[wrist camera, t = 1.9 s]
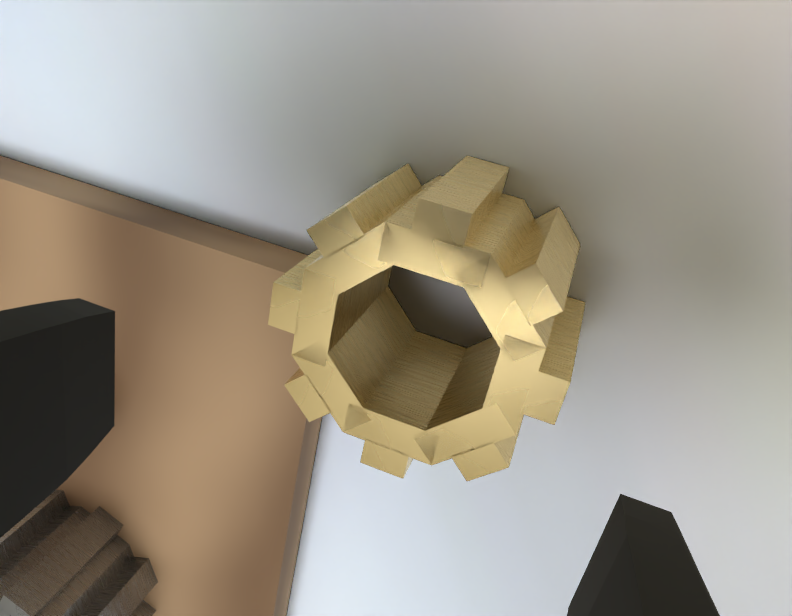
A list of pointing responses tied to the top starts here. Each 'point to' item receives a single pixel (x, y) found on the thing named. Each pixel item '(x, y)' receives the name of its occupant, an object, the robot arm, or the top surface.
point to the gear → (71, 565)
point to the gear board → (176, 387)
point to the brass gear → (422, 354)
